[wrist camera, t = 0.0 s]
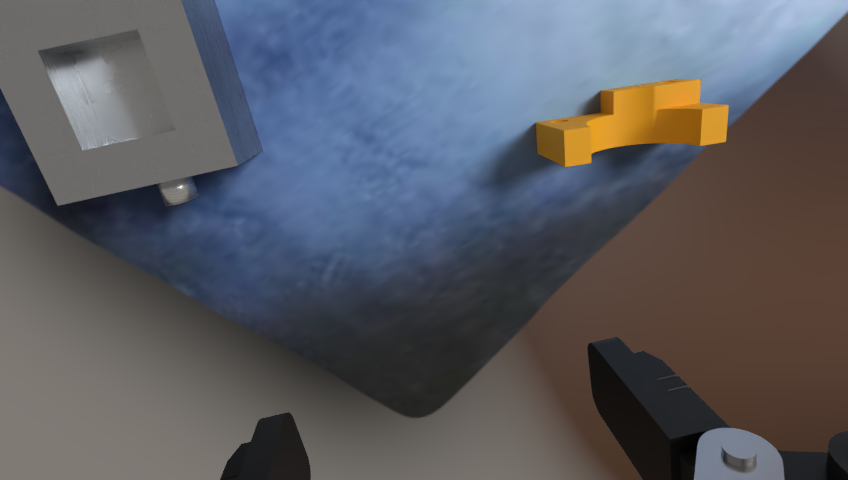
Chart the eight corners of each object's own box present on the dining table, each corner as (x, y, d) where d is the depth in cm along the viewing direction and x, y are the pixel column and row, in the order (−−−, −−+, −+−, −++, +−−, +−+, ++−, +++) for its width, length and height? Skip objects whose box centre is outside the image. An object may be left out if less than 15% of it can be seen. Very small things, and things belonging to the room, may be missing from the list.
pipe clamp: (675, 79, 39) (730, 79, 33) (673, 132, 40) (725, 141, 34) (534, 100, 38) (563, 105, 32) (536, 153, 40) (565, 166, 34)
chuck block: (43, 21, 33) (-40, 6, 27) (209, -15, 33) (167, -38, 27) (125, 207, 38) (71, 234, 31) (270, 175, 38) (247, 194, 32)
